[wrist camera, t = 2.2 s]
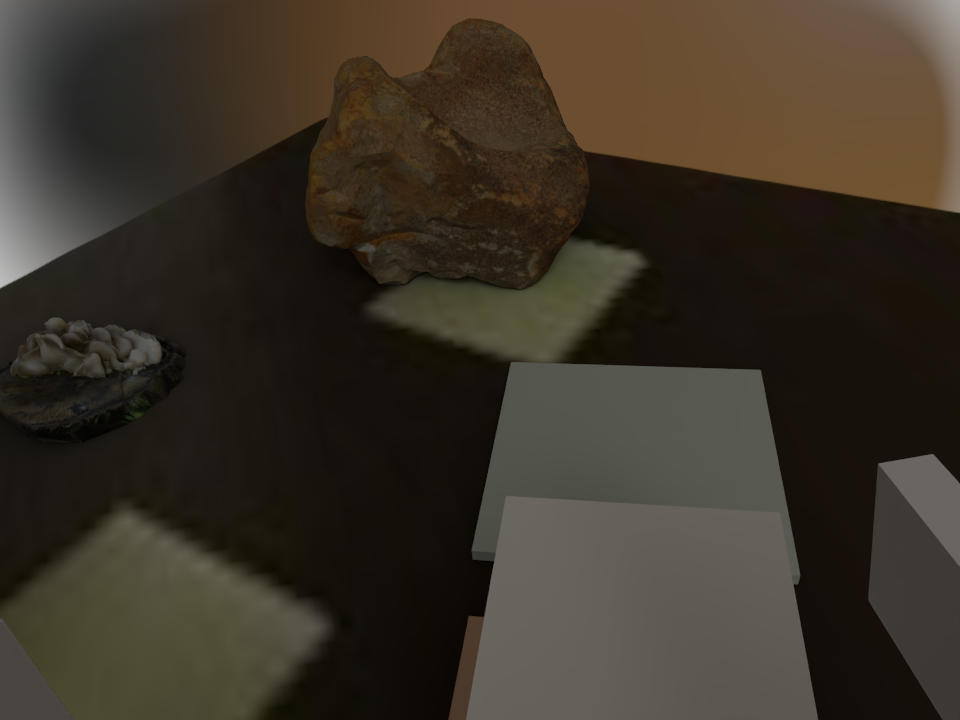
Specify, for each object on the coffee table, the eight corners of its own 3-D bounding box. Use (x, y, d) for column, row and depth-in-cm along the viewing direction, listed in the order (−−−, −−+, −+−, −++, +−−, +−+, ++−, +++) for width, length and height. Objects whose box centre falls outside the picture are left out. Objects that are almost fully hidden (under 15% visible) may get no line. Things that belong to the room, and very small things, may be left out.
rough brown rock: (504, 379, 48) (513, 141, 39) (287, 304, 54) (250, 82, 45) (637, 221, 64) (665, 26, 55) (458, 177, 70) (457, -5, 61)
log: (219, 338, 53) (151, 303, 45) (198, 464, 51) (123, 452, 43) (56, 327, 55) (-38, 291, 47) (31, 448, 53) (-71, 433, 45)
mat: (797, 584, 34) (800, 575, 33) (472, 559, 36) (471, 550, 36) (759, 378, 45) (760, 369, 44) (511, 370, 47) (511, 362, 47)
